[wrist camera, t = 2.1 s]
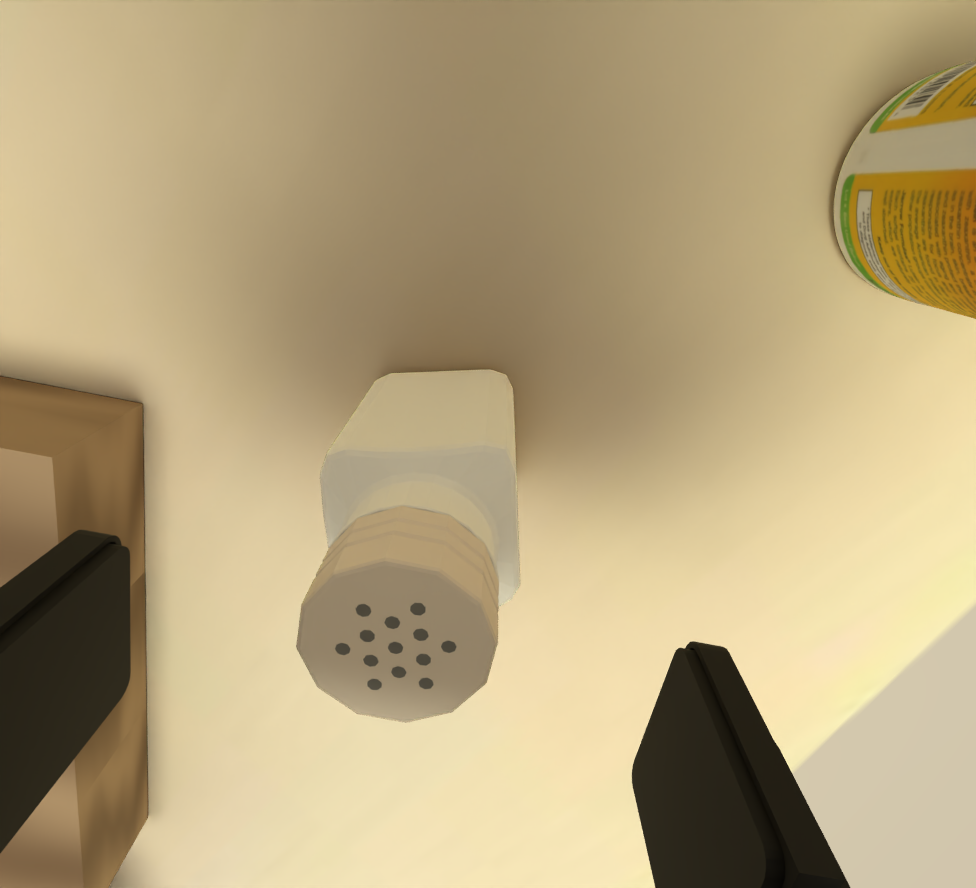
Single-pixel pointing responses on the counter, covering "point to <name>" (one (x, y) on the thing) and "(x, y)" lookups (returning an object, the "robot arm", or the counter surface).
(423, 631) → the pepper shaker
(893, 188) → the supplement bottle
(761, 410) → the counter surface
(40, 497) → the socket block
